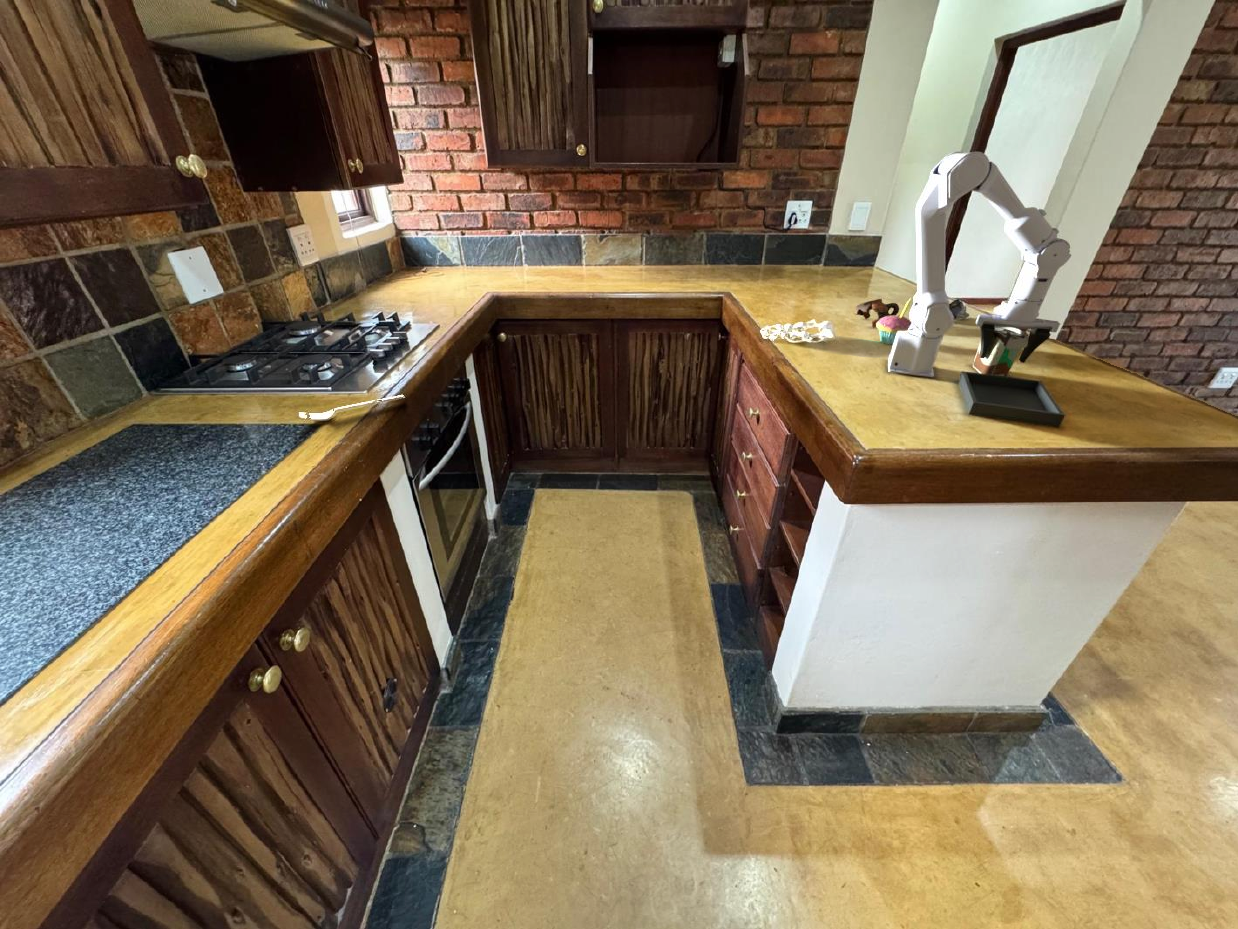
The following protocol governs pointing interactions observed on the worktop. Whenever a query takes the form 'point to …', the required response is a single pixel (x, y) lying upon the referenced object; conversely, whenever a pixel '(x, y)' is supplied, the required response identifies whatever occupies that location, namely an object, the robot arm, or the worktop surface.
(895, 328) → the cupcake
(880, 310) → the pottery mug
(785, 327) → the tangled rod sculpture
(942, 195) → the robot arm
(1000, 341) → the food container
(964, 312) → the snack package
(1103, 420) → the worktop surface
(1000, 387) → the tray
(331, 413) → the fork
